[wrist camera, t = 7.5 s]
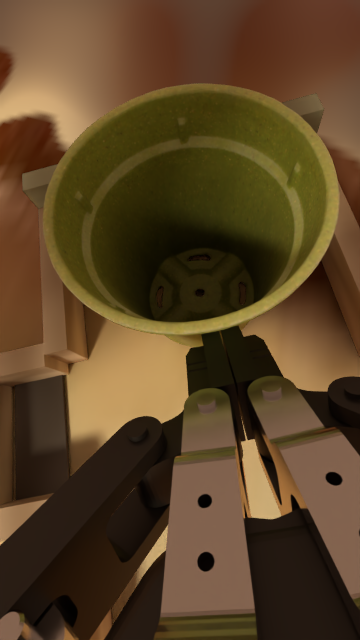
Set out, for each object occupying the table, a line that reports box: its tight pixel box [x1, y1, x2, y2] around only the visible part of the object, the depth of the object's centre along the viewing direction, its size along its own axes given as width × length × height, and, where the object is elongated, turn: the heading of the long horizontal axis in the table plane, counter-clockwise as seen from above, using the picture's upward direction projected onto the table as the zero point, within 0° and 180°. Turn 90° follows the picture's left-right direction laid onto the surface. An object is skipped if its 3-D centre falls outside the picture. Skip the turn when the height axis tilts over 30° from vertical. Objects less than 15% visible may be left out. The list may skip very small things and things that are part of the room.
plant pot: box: [43, 83, 340, 347], centre depth 14 cm, size 9×9×9 cm
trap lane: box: [0, 93, 360, 640], centre depth 15 cm, size 26×23×4 cm
